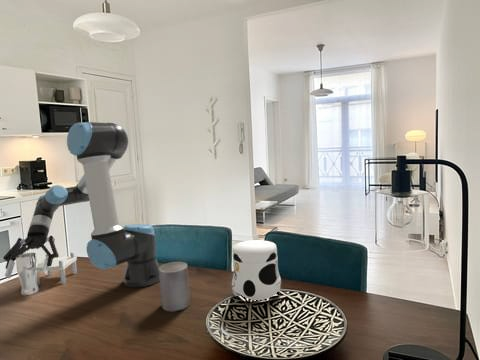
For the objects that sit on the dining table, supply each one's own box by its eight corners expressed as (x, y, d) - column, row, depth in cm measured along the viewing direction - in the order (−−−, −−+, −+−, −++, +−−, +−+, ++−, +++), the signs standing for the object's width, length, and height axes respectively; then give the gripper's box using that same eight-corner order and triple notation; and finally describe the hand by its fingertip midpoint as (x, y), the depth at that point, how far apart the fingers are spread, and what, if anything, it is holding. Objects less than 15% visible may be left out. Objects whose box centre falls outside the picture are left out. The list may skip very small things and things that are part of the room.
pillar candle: (173, 297, 127) (169, 256, 125) (196, 300, 122) (192, 259, 121) (155, 309, 118) (151, 266, 116) (179, 314, 114) (175, 269, 112)
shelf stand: (78, 272, 158) (76, 251, 157) (65, 283, 145) (62, 261, 144) (48, 274, 158) (46, 253, 157) (33, 285, 145) (30, 263, 144)
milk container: (224, 293, 128) (221, 244, 126) (265, 282, 135) (263, 236, 134) (247, 312, 112) (244, 257, 110) (291, 299, 120) (289, 247, 118)
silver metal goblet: (18, 297, 134) (13, 259, 132) (21, 290, 140) (17, 254, 138) (39, 293, 136) (35, 256, 135) (41, 287, 143) (37, 251, 141)
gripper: (72, 230, 154) (62, 276, 140) (12, 235, 151) (-4, 282, 138) (67, 221, 148) (56, 268, 135) (4, 225, 145) (-14, 274, 132)
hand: (25, 275), depth 136 cm, fingers open, 13 cm apart
